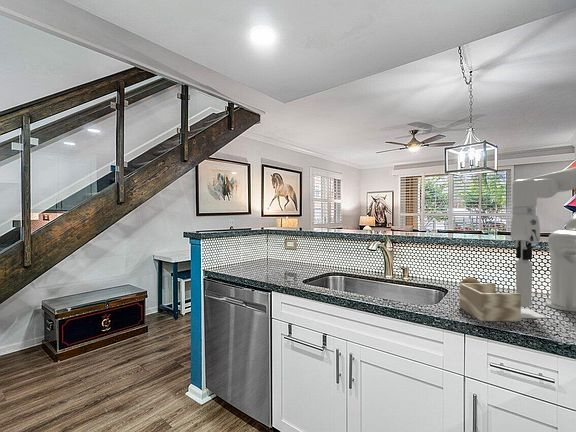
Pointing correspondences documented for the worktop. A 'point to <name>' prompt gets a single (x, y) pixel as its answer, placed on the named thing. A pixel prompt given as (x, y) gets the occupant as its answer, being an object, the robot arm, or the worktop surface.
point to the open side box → (489, 302)
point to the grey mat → (530, 314)
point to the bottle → (524, 280)
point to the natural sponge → (470, 280)
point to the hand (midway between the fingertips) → (524, 258)
